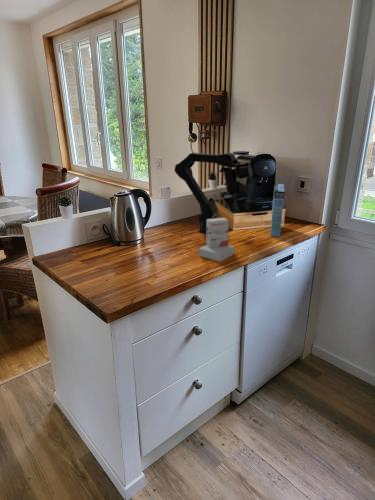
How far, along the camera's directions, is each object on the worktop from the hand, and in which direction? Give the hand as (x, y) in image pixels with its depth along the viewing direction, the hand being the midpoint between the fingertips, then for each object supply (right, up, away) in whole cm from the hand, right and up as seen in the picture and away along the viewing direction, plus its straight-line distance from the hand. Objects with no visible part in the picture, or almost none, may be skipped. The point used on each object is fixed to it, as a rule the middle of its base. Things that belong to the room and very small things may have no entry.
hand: (236, 211), depth 166 cm
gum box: (+22, -9, +11) cm, 26 cm away
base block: (-11, -21, -19) cm, 30 cm away
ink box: (-11, -17, -17) cm, 26 cm away
